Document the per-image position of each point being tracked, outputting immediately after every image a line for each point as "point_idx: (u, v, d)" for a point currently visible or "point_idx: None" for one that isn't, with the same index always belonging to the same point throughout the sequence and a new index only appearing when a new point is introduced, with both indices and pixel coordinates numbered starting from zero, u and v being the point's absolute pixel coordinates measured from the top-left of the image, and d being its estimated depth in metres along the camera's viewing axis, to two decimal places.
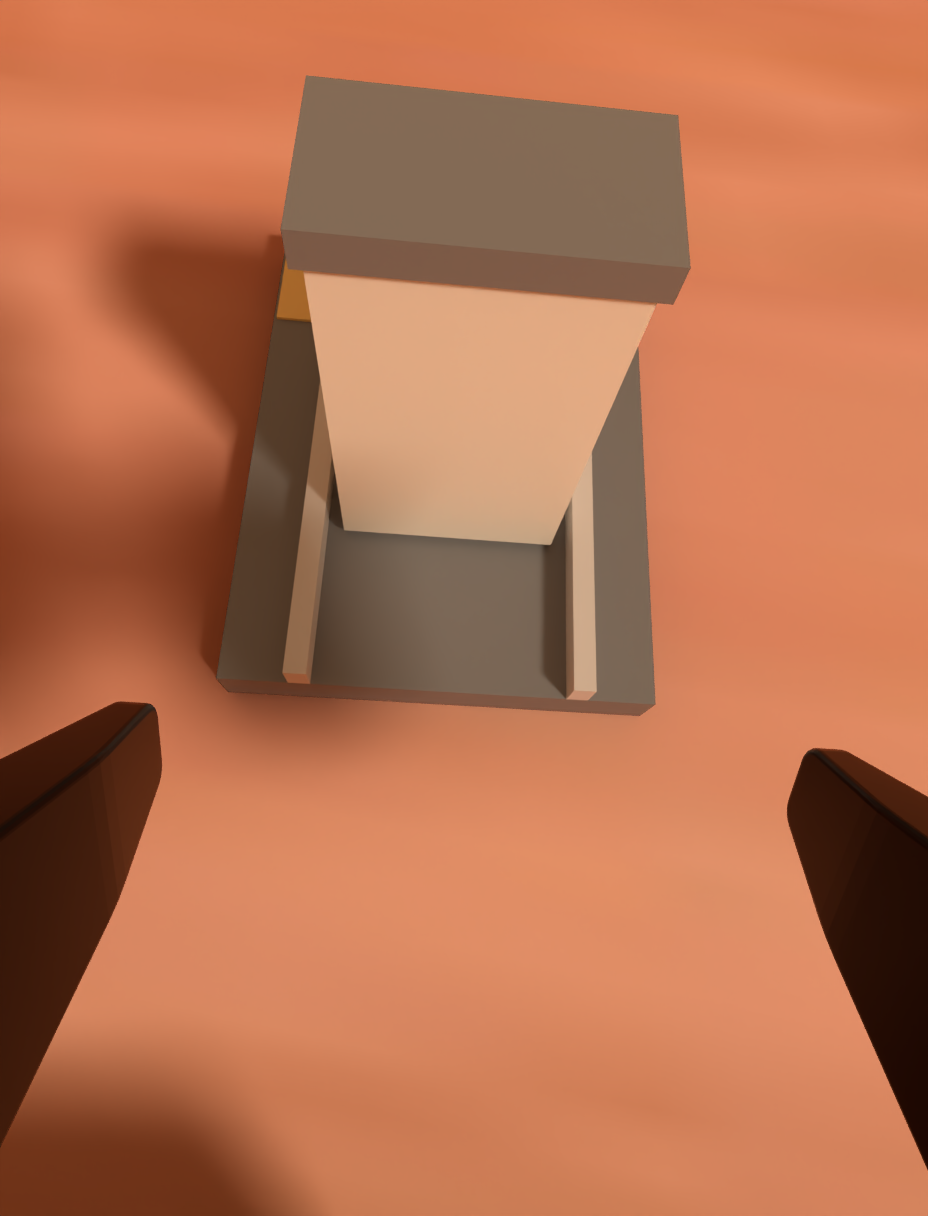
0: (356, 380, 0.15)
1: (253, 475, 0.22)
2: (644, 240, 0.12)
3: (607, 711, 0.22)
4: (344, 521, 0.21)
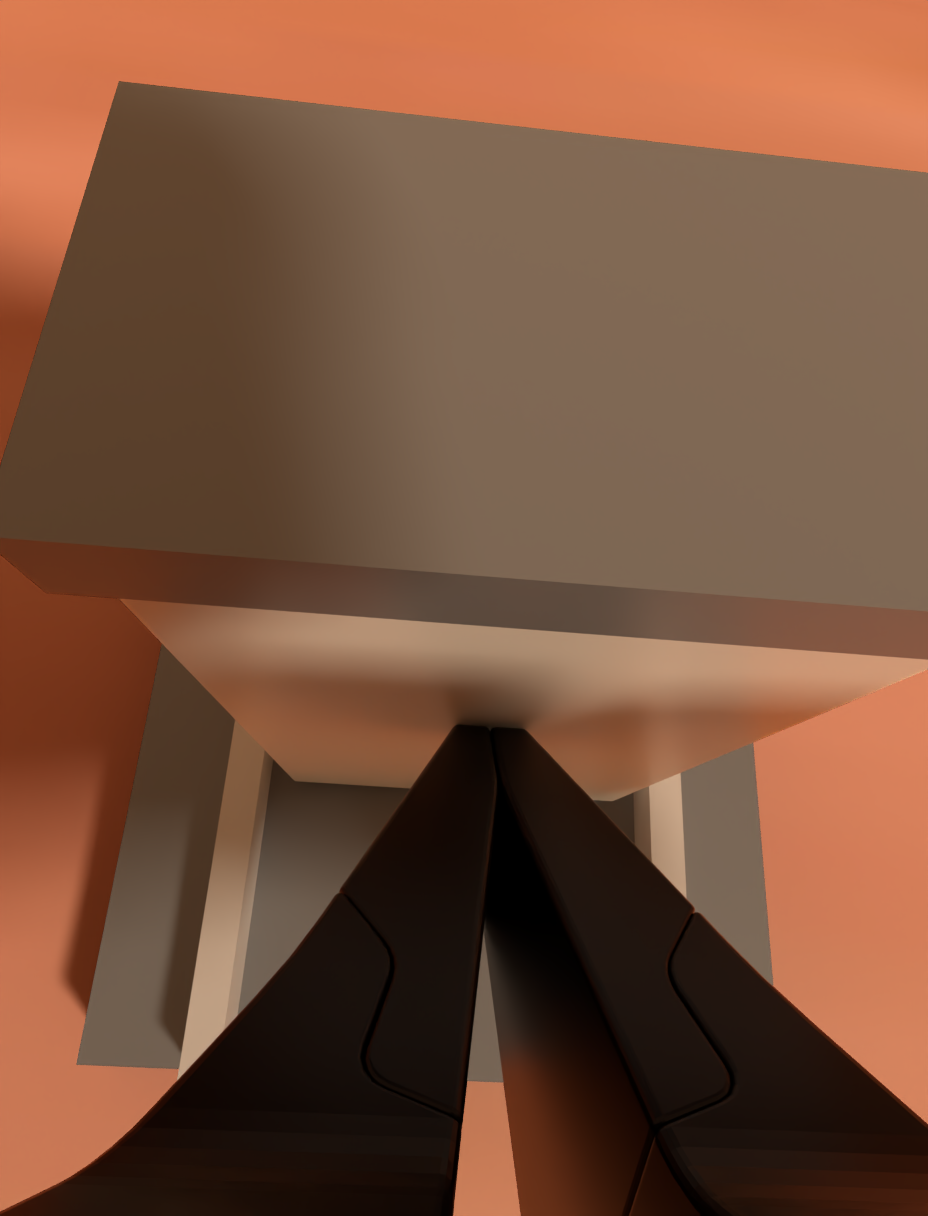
0: (276, 692, 0.08)
1: (158, 697, 0.15)
2: None
3: None
4: (293, 776, 0.14)
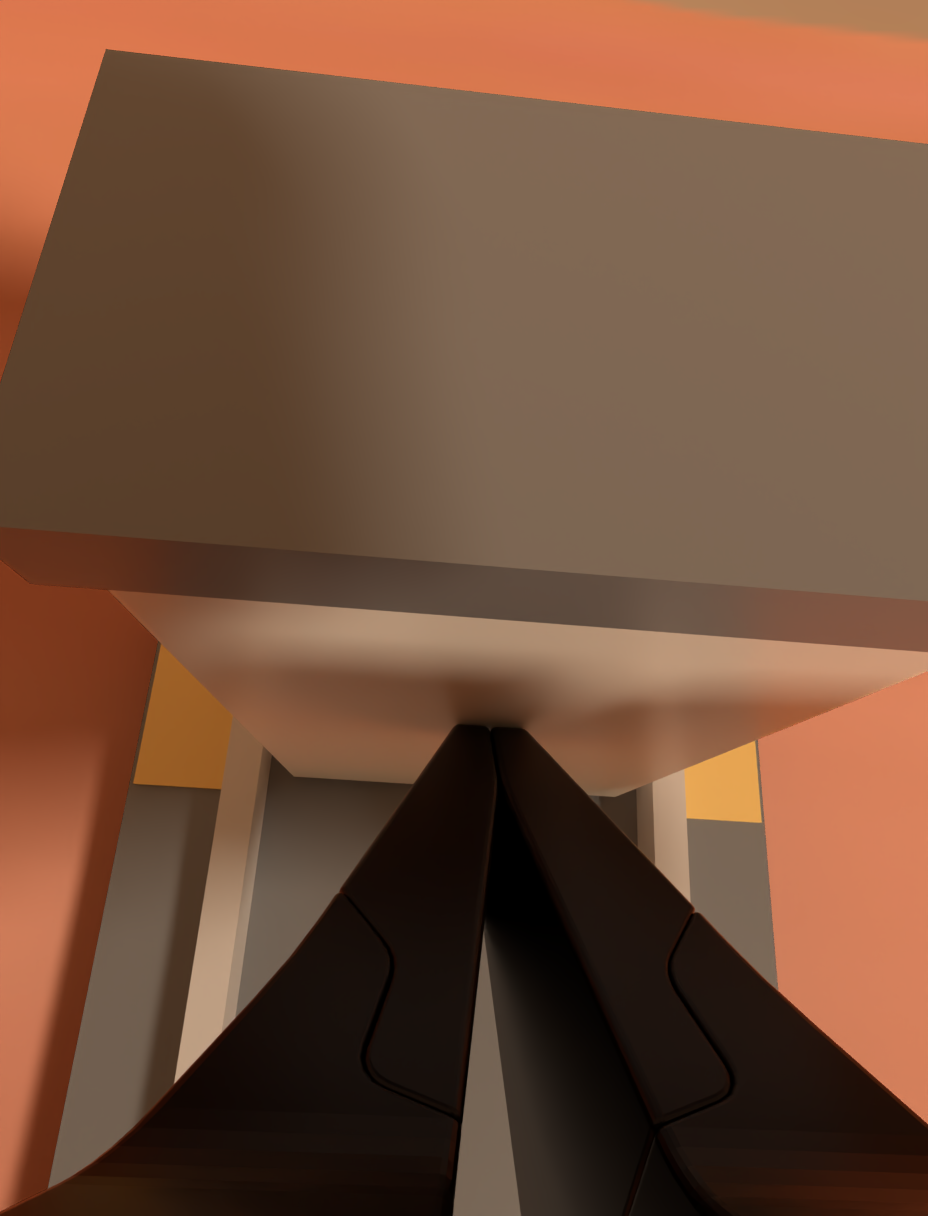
0: (275, 687, 0.07)
1: (63, 1157, 0.12)
2: None
3: None
4: (292, 772, 0.13)
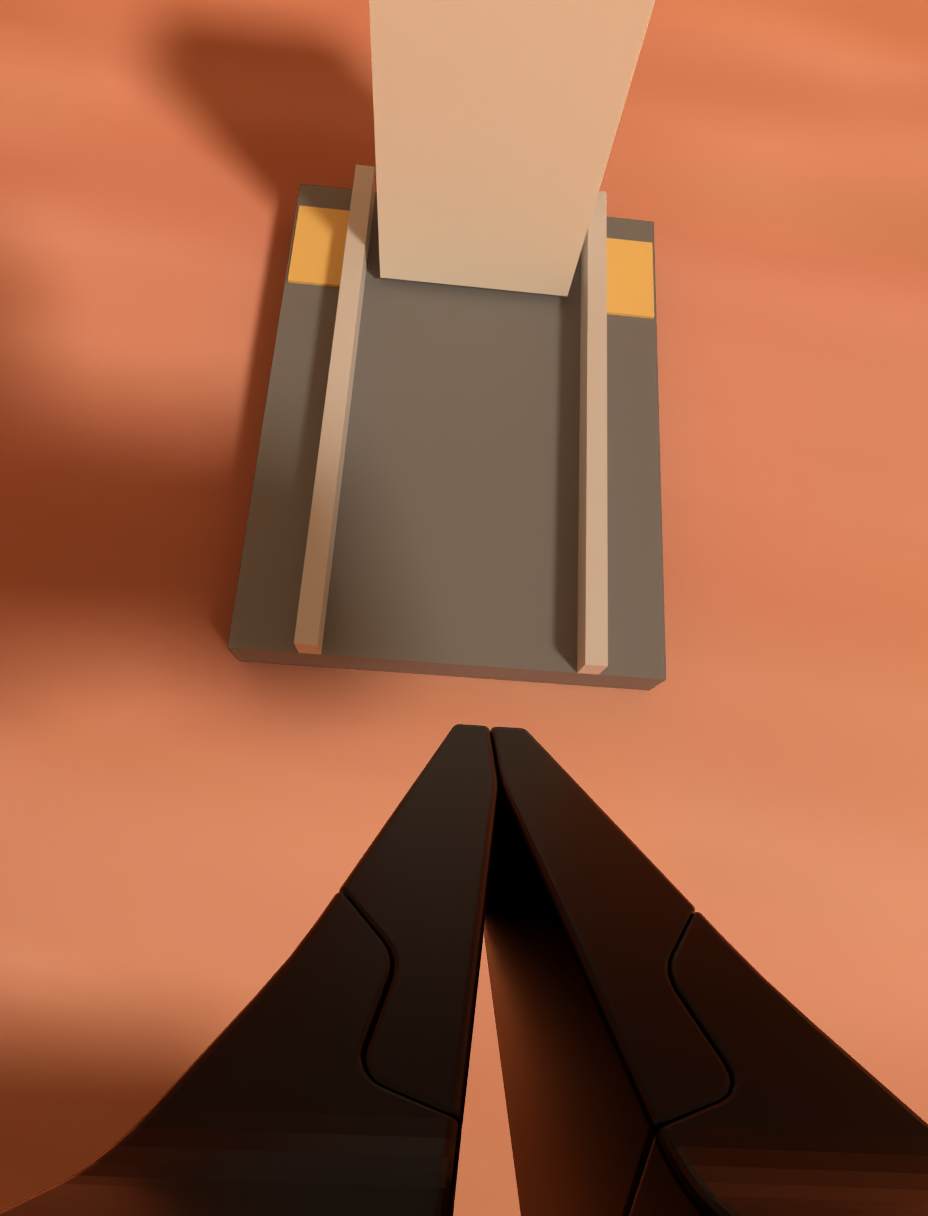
0: (403, 63, 0.17)
1: (264, 443, 0.22)
2: None
3: (617, 685, 0.22)
4: (381, 264, 0.23)
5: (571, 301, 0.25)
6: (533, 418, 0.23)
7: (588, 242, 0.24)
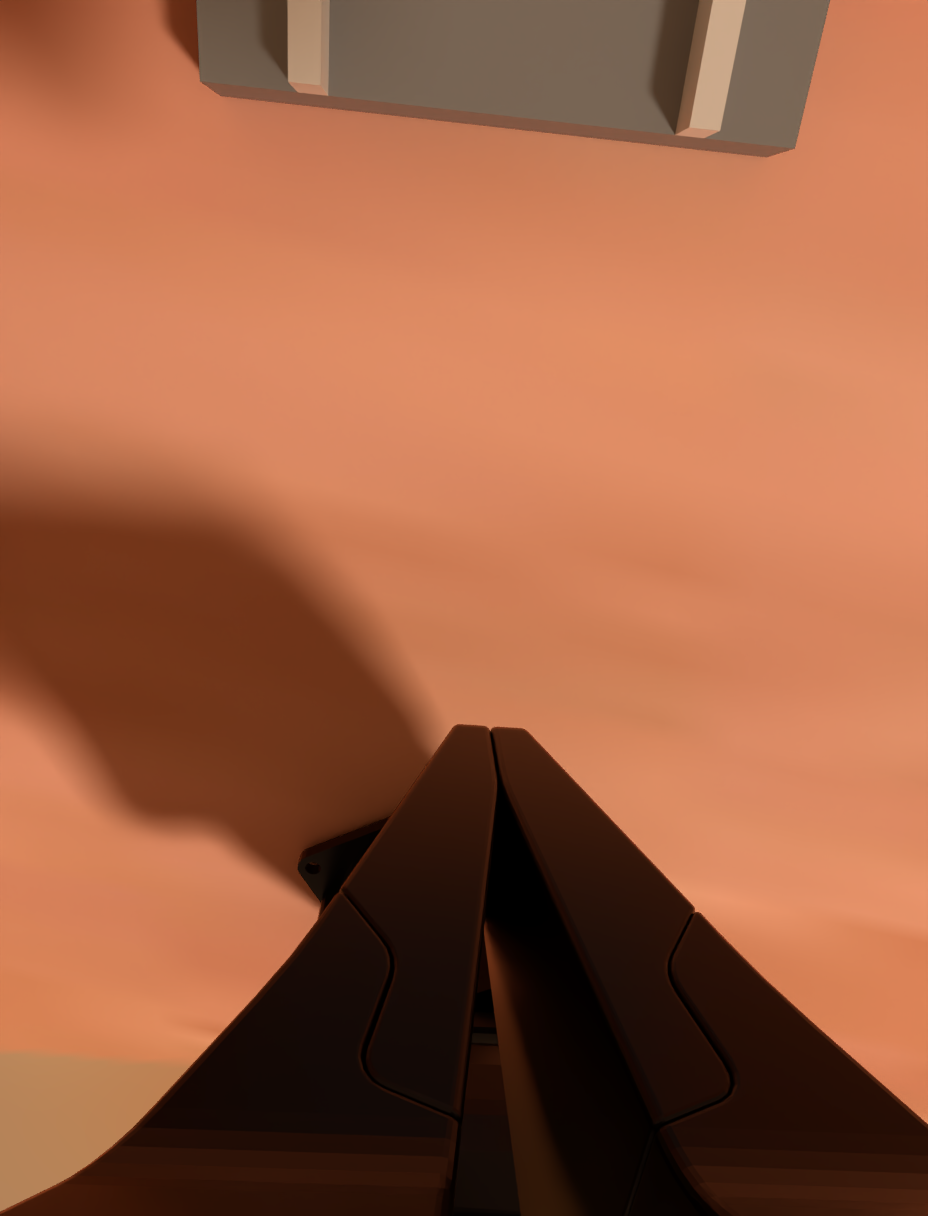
0: None
1: None
2: None
3: (725, 150, 0.16)
4: None
5: None
6: None
7: None
